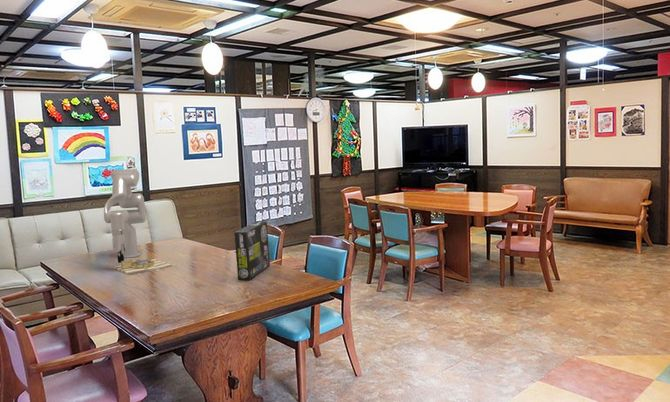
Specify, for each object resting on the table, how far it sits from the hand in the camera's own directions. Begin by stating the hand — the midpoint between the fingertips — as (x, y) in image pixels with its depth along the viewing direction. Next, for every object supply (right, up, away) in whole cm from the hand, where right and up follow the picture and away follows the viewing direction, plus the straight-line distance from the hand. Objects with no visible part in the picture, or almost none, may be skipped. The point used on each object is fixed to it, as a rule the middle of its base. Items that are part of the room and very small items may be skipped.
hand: (121, 262), depth 320 cm
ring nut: (+10, -2, +1) cm, 10 cm away
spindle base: (+12, -4, +3) cm, 13 cm away
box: (+84, -4, -23) cm, 87 cm away
